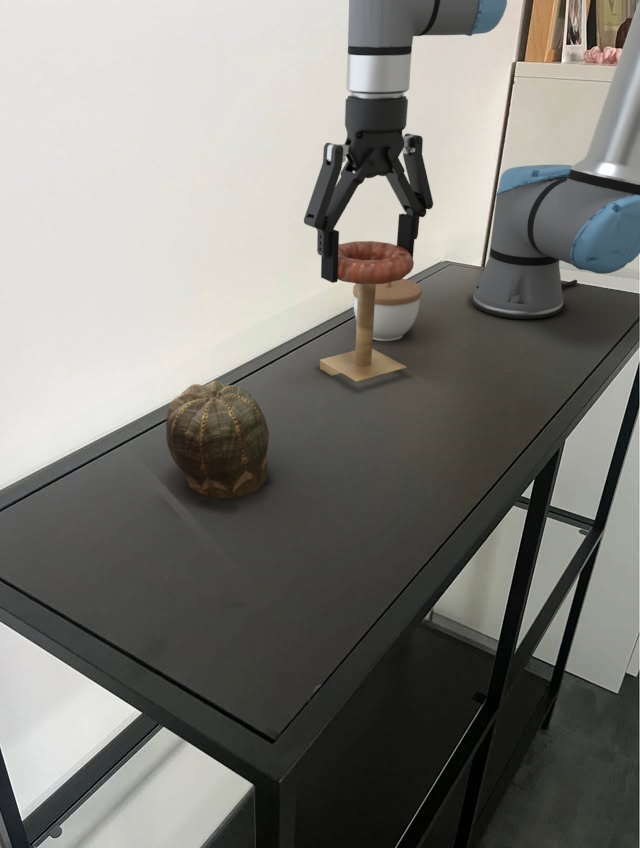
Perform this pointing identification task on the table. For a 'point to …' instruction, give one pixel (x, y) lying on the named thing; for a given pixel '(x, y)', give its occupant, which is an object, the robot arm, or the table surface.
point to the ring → (373, 262)
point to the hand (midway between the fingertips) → (367, 271)
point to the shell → (218, 439)
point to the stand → (362, 345)
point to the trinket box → (393, 308)
